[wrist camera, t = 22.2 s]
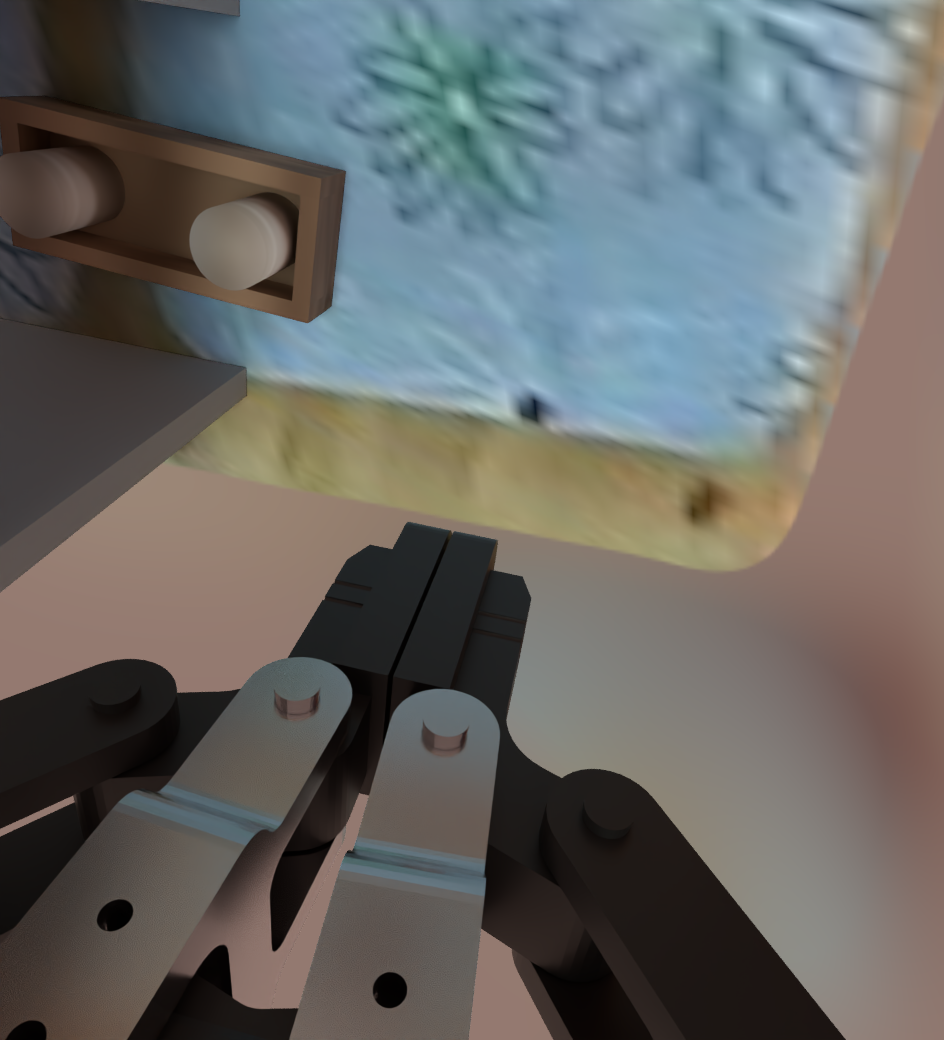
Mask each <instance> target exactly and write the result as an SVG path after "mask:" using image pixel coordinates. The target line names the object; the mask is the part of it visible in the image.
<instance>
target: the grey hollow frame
mask: <svg viewBox="0 0 944 1040" xmlns="http://www.w3.org/2000/svg"><path fill="white" fill-rule="evenodd" d="M139 1H145V2H152V3H158V4H165V5H171V6H177V7H184V8H190V9H197V10H203V11H210V12H216V13H222V14H229V15H235V16H240V13H239V0H139ZM245 396H247V391H246V368H244V367H239V366H234V365H229V364H224V363H219V362H214V361H209V360H204V359H199V358H194V357H189V356H184V355H179V354H174V353H169V352H164V351H160V350H155V349H150V348H145V347H140V346H135V345H130V344H125V343H120V342H115V341H110V340H105V339H100V338H95V337H90V336H85V335H80V334H75V333H70V332H65V331H60V330H55V329H50V328H45V327H40V326H35V325H30V324H25V323H20V322H15V321H10V320H5V319H0V592H1V591H3V590H4V589H5V588H6V587H7V586H9V585H10V584H11V583H13V582H14V581H15V580H16V579H18V578H19V577H20V576H21V575H23V574H24V573H25V572H26V571H28V570H29V569H30V568H31V567H33V566H34V565H35V564H36V563H38V562H39V561H40V560H41V559H43V558H44V557H45V556H46V555H48V554H49V553H50V552H51V551H52V550H54V549H55V548H56V547H58V546H59V545H60V544H61V543H63V542H64V541H65V540H66V539H68V538H69V537H70V536H71V535H73V534H74V533H75V532H76V531H78V530H79V529H80V528H81V527H83V526H84V525H85V524H87V523H88V522H89V521H90V520H91V519H93V518H94V517H95V516H96V515H97V514H99V513H100V512H101V511H103V510H104V509H105V508H106V507H108V506H109V505H110V504H112V503H113V502H114V501H115V500H117V499H118V498H119V497H120V496H121V495H123V494H124V493H125V492H127V491H128V490H129V489H130V488H131V487H133V486H134V485H135V484H137V483H138V482H139V481H140V480H142V479H143V478H144V477H145V476H146V475H148V474H149V473H150V472H152V471H153V470H154V469H155V468H156V467H158V466H159V465H160V464H162V463H163V462H164V461H165V460H167V459H168V458H169V457H170V456H172V455H173V454H174V453H175V452H177V451H178V450H179V449H180V448H182V447H183V446H184V445H185V444H187V443H188V442H189V441H190V440H192V439H193V438H194V437H195V436H197V435H198V434H199V433H200V432H202V431H203V430H204V429H205V428H207V427H208V426H209V425H210V424H212V423H213V422H214V421H215V420H217V419H218V418H219V417H220V416H222V415H223V414H224V413H225V412H227V411H228V410H229V409H230V408H232V407H233V406H234V405H235V404H237V403H238V402H239V401H240V400H242V399H243V398H244V397H245Z"/></svg>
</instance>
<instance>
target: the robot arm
mask: <svg viewBox="0 0 944 1040" xmlns="http://www.w3.org/2000/svg"><path fill="white" fill-rule="evenodd" d="M497 545H498V541H497V540H495V539H490V538H485V537H480V536H475V535H470V534H465V533H461V532H456V531H455V532H453V534H452V532H451V531H450V530H445V529H441V528H436V527H431V526H426V525H421V524H416V523H411V522H407V523H406V525H405V526H404V528H403V530H402V532H401V534H400V536H399V538H398V540H397V542H396V544H395V545H394V547H393V549H388V548H383V547H379V546H374V545H369V546H367V547H366V548H364V549H363V550H361V551H360V552H358V553H357V554H355V555H353V556H352V557H350V558H349V559H348V560H347V561H346V562H345V564H344V566H343V568H342V569H341V571H340V572H339V574H338V576H337V577H336V579H335V583H333V584H332V586H331V587H330V589H329V590H328V592H327V594H326V596H325V600H322V602H321V604H320V605H319V607H318V609H317V611H316V612H315V614H314V616H313V617H312V619H311V620H310V622H309V623H308V625H307V627H306V628H305V630H304V632H303V633H302V635H301V637H300V638H299V640H298V642H297V643H296V645H295V647H294V648H293V650H292V652H291V653H290V655H289V657H288V658H287V659H282V660H278V661H275V662H272V663H270V664H267V665H266V666H264V667H262V668H261V669H259V670H258V671H256V672H255V673H254V674H253V675H252V676H251V677H250V678H249V679H248V680H247V682H246V683H245V684H244V686H243V687H242V688H241V689H237V690H232V691H224V692H223V691H222V692H188V693H177V687H176V683H175V680H174V678H173V677H172V675H171V674H170V673H169V672H168V671H167V670H166V669H165V668H163V667H162V666H160V665H158V664H156V663H153V662H149V661H146V660H139V659H122V660H115V661H109V662H105V663H102V664H98V665H95V666H93V667H90V668H87V669H84V670H82V671H79V672H76V673H74V674H71V675H68V676H65V677H63V678H60V679H57V680H54V681H52V682H49V683H46V684H44V685H41V686H38V687H35V688H33V689H30V690H28V691H25V692H22V693H19V694H16V695H14V696H11V697H8V698H6V699H3V700H0V828H3V827H5V826H7V825H9V824H12V823H14V822H16V821H18V820H20V819H23V818H25V817H27V816H29V815H31V814H33V813H36V812H38V811H40V810H42V809H44V808H47V807H49V806H51V805H53V804H55V803H58V802H60V801H62V800H64V799H66V798H68V797H71V796H73V797H74V801H75V802H74V803H72V804H70V805H68V806H66V807H63V808H61V809H59V810H57V811H55V812H53V813H50V814H48V815H46V816H44V817H42V818H40V819H37V820H35V821H33V822H31V823H29V824H27V825H24V826H22V827H20V828H18V829H16V830H14V831H12V832H9V833H7V834H5V835H3V836H1V837H0V1040H468V1039H469V1029H470V1021H471V1012H472V1003H473V995H474V986H475V977H476V968H477V959H478V949H479V942H480V932H481V929H483V930H484V931H486V932H487V933H489V934H490V935H492V936H493V937H495V938H496V939H498V940H500V941H501V942H502V943H504V944H505V945H507V946H508V947H510V948H512V955H513V959H514V963H515V966H516V968H517V970H518V973H519V975H520V977H521V978H522V980H523V982H524V984H525V986H526V988H527V990H528V992H529V994H530V996H531V998H532V1000H533V1002H534V1003H535V1005H536V1007H537V1009H538V1011H539V1013H540V1015H541V1017H542V1019H543V1021H544V1023H545V1024H546V1026H547V1028H548V1030H549V1032H550V1034H551V1036H552V1037H553V1039H554V1040H846V1039H845V1038H844V1037H843V1036H842V1034H841V1033H840V1032H839V1031H838V1029H837V1028H836V1027H835V1026H834V1024H833V1023H832V1022H831V1021H830V1019H829V1018H828V1017H827V1016H826V1014H825V1013H824V1012H823V1011H822V1010H821V1008H820V1007H819V1006H818V1004H817V1003H816V1002H815V1001H814V999H813V998H812V997H811V996H810V994H809V993H808V992H807V990H806V989H805V988H804V987H803V986H802V984H801V983H800V982H799V980H798V979H797V978H796V977H795V975H794V974H793V973H792V972H791V970H790V969H789V968H788V967H787V966H786V964H785V963H784V962H783V960H782V959H781V958H780V957H779V955H778V954H777V953H776V952H775V950H774V949H773V948H772V947H771V945H770V944H769V943H768V942H767V940H766V939H765V938H764V937H763V935H762V934H761V933H760V931H759V930H758V929H757V928H756V927H755V925H754V924H753V923H752V921H751V920H750V919H749V918H748V916H747V915H746V914H745V913H744V911H743V910H742V909H741V908H740V906H739V905H738V904H737V903H736V901H735V900H734V899H733V898H732V896H731V895H730V894H729V893H728V891H727V890H726V889H725V888H724V886H723V885H722V884H721V883H720V881H719V880H718V879H717V878H716V876H715V875H714V874H713V873H712V871H711V870H710V869H709V867H708V866H707V865H706V864H705V862H704V861H703V860H702V859H701V857H700V856H699V855H698V854H697V852H696V851H695V850H694V849H693V847H692V846H691V845H690V844H689V842H688V841H687V840H686V839H685V837H684V836H683V835H682V834H681V832H680V831H679V830H678V829H677V827H676V826H675V825H674V824H673V822H672V821H671V820H670V819H669V817H668V816H667V815H666V814H665V812H664V811H663V810H662V808H661V807H660V806H659V805H658V804H657V802H656V801H655V800H654V799H653V797H652V796H651V795H650V794H649V793H648V792H647V791H646V790H645V789H643V788H642V787H641V786H640V785H639V784H637V783H635V782H634V781H632V780H631V779H629V778H627V777H625V776H622V775H620V774H617V773H614V772H611V771H606V770H601V769H585V770H579V771H576V772H572V773H570V774H568V775H566V776H564V777H563V778H560V777H558V776H557V775H555V774H553V773H551V772H549V771H547V770H545V769H544V768H542V767H540V766H539V765H537V764H536V763H534V762H532V761H531V760H530V759H529V758H527V757H526V756H525V755H524V754H523V753H522V752H521V751H520V750H519V749H518V747H517V746H516V744H515V743H514V742H513V740H512V738H511V736H510V734H509V731H508V727H507V723H506V719H507V714H508V710H509V705H510V700H511V696H512V691H513V687H514V682H515V677H516V673H517V668H518V663H519V658H520V653H521V648H522V643H523V637H524V633H525V628H526V622H527V617H528V612H529V607H530V602H531V597H530V594H529V592H528V589H527V587H526V584H525V582H524V579H523V577H522V576H517V575H512V574H508V573H503V572H498V571H494V564H495V558H496V552H497ZM359 793H361V794H365V795H369V798H368V801H367V805H366V808H365V812H364V815H363V819H362V822H361V826H360V829H359V833H358V836H357V840H356V843H355V846H354V848H353V850H352V851H351V850H348V851H347V853H346V854H345V856H344V859H343V861H342V864H341V867H340V870H339V873H338V877H337V879H336V883H335V886H334V890H333V893H332V896H331V900H330V903H329V907H328V910H327V913H326V917H325V920H324V923H323V927H322V930H321V934H320V937H319V940H318V944H317V947H316V951H315V954H314V957H313V961H312V964H311V967H310V971H309V974H308V978H307V981H306V985H305V988H304V991H303V995H302V998H301V1001H300V1005H299V1008H298V1009H297V1008H296V1009H295V1008H293V1009H271V1007H272V1004H273V999H274V994H275V990H276V987H277V983H278V980H279V977H280V974H281V971H282V969H283V966H284V964H285V962H286V960H287V958H288V956H289V954H290V952H291V950H292V947H293V945H294V943H295V941H296V939H297V937H298V935H299V933H300V931H301V929H302V927H303V925H304V923H305V920H306V919H307V917H308V915H309V912H310V910H311V908H312V906H313V904H314V902H315V900H316V898H317V896H318V894H319V892H320V890H321V887H322V886H323V884H324V882H325V880H326V877H327V875H328V873H329V871H330V869H331V867H332V865H333V863H334V861H335V859H336V857H337V854H338V853H339V851H340V849H341V846H342V844H343V841H344V839H345V833H346V824H347V822H348V819H349V817H350V814H351V812H352V810H353V807H354V805H355V802H356V800H357V797H358V795H359Z"/></svg>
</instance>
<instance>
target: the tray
mask: <svg viewBox="0 0 944 1040" xmlns="http://www.w3.org/2000/svg"><path fill="white" fill-rule="evenodd" d="M0 129H1V138H2V148H3V155H2V156H1V157H0V216H1V217H2V219H3V220H4V221H5V222H6V223H7V224H8V225H9V226H10V227H11V232H12V241H13V246H17V247H21V248H25V249H28V250H32V251H36V252H40V253H43V254H47V255H51V256H55V257H59V258H62V259H66V260H70V261H74V262H77V263H81V264H85V265H89V266H93V267H96V268H100V269H104V270H108V271H112V272H115V273H119V274H123V275H127V276H130V277H134V278H138V279H142V280H146V281H149V282H153V283H157V284H161V285H165V286H168V287H172V288H176V289H180V290H183V291H187V292H191V293H195V294H199V295H202V296H206V297H210V298H214V299H217V300H221V301H225V302H229V303H233V304H236V305H240V306H244V307H248V308H252V309H255V310H259V311H263V312H267V313H270V314H274V315H278V316H282V317H286V318H289V319H293V320H297V321H301V322H304V323H309V322H311V321H312V320H313V319H315V318H316V317H317V316H319V315H320V314H322V313H323V312H324V311H326V310H327V309H328V308H330V307H331V304H332V295H333V286H334V276H335V267H336V258H337V248H338V239H339V230H340V220H341V211H342V202H343V192H344V183H345V174H346V171H343V170H339V169H335V168H331V167H327V166H323V165H319V164H315V163H311V162H307V161H303V160H299V159H295V158H291V157H287V156H283V155H279V154H275V153H271V152H267V151H263V150H259V149H255V148H251V147H247V146H243V145H239V144H235V143H231V142H227V141H223V140H219V139H216V138H212V137H208V136H204V135H200V134H196V133H192V132H188V131H184V130H180V129H176V128H172V127H168V126H164V125H160V124H156V123H152V122H148V121H144V120H140V119H136V118H132V117H128V116H124V115H120V114H116V113H112V112H108V111H104V110H100V109H96V108H92V107H88V106H84V105H80V104H76V103H72V102H68V101H64V100H60V99H56V98H52V97H48V96H12V97H0Z"/></svg>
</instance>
